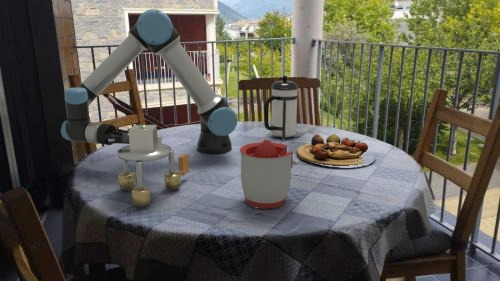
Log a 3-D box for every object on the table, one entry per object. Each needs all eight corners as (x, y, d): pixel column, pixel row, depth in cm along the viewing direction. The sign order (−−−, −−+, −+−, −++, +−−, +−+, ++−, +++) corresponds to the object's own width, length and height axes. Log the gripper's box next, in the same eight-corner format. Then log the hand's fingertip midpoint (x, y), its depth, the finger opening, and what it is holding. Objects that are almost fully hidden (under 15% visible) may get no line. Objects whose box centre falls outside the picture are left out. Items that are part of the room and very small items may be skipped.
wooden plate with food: (337, 176, 146) (339, 154, 144) (280, 153, 171) (281, 134, 169) (390, 161, 165) (393, 142, 163) (332, 143, 189) (334, 126, 187)
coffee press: (267, 132, 205) (268, 73, 197) (298, 134, 203) (301, 74, 195) (263, 142, 188) (264, 77, 180) (298, 143, 186) (300, 78, 178)
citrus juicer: (303, 210, 118) (306, 144, 113) (245, 215, 115) (245, 148, 109) (287, 189, 133) (289, 131, 128) (236, 193, 130) (235, 134, 124)
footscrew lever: (176, 192, 129) (174, 154, 126) (161, 190, 131) (159, 152, 127) (194, 178, 142) (192, 142, 138) (180, 176, 143) (179, 141, 140)
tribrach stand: (176, 185, 136) (173, 119, 130) (167, 210, 118) (163, 134, 112) (122, 186, 135) (117, 120, 129) (105, 210, 117) (97, 135, 111)
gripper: (114, 139, 151) (170, 145, 144) (90, 148, 139) (151, 156, 132) (112, 119, 149) (169, 125, 142) (88, 127, 137) (149, 134, 130)
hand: (160, 140), depth 137 cm, fingers closed
